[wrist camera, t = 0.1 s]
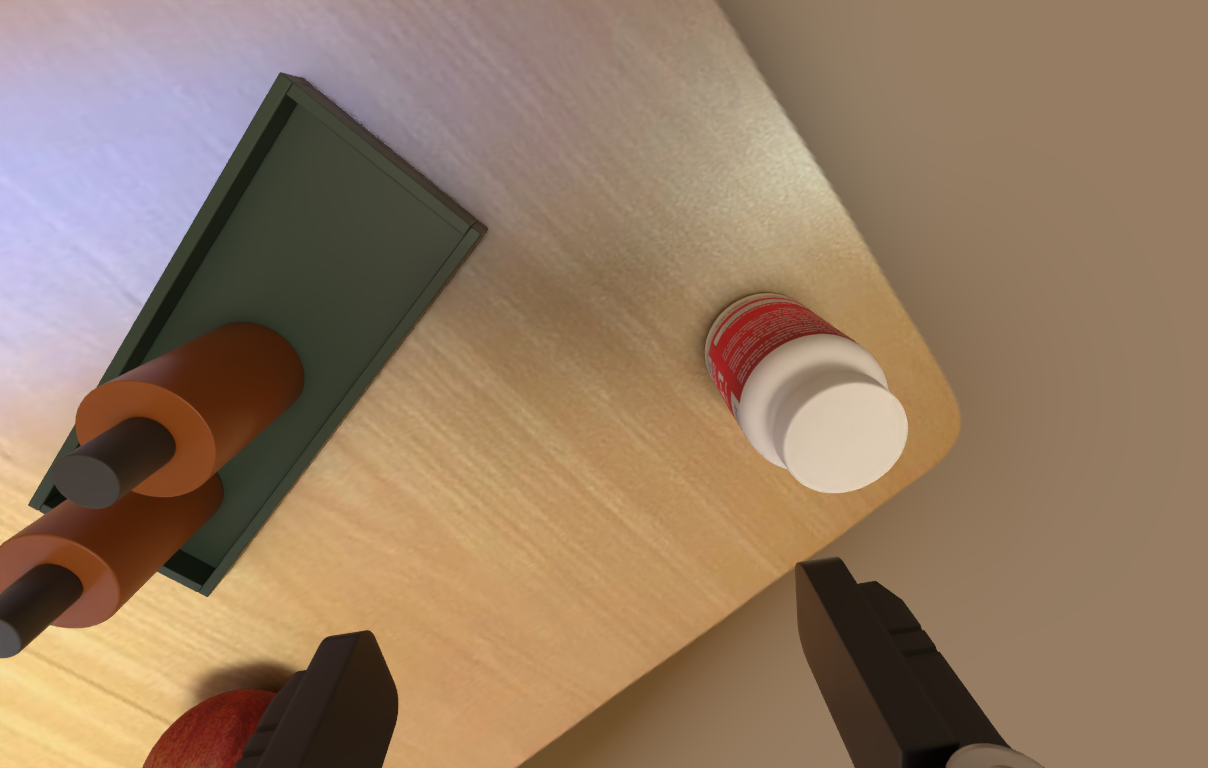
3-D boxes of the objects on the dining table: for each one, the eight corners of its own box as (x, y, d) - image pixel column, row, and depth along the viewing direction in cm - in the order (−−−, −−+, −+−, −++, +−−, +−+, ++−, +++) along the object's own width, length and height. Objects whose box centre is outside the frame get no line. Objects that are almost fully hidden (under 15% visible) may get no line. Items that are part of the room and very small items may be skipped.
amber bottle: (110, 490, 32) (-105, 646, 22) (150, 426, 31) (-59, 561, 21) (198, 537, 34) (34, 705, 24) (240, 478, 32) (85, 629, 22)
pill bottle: (679, 349, 31) (728, 447, 21) (763, 266, 30) (861, 327, 19) (754, 418, 33) (833, 538, 23) (837, 342, 31) (962, 435, 21)
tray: (59, 484, 33) (26, 505, 31) (302, 77, 26) (279, 71, 24) (227, 573, 36) (207, 597, 34) (488, 228, 28) (482, 234, 26)
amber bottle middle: (182, 375, 30) (-21, 491, 20) (230, 301, 29) (37, 384, 18) (273, 432, 31) (128, 567, 21) (323, 363, 30) (192, 472, 20)
